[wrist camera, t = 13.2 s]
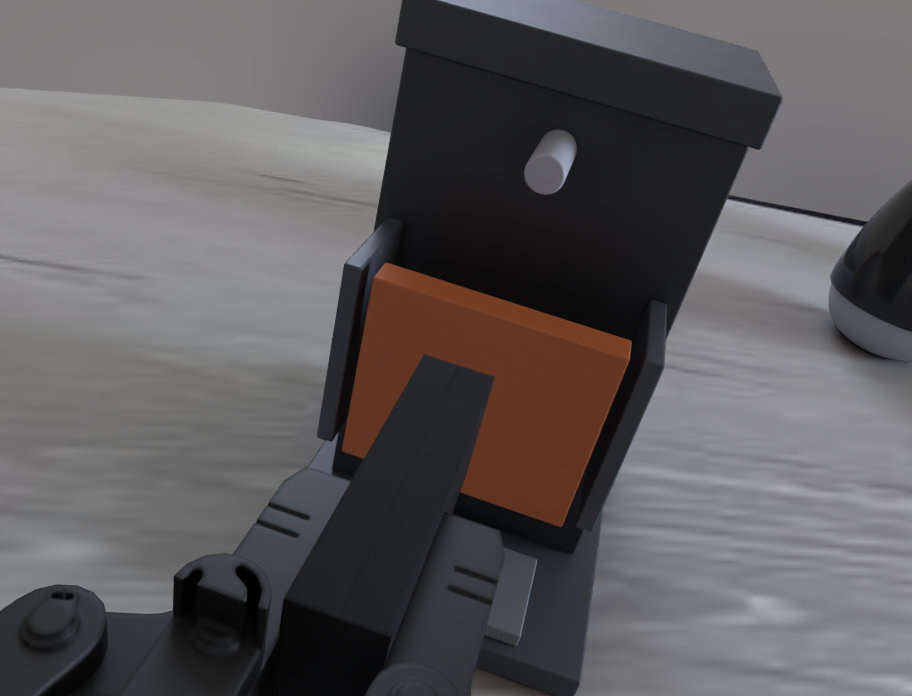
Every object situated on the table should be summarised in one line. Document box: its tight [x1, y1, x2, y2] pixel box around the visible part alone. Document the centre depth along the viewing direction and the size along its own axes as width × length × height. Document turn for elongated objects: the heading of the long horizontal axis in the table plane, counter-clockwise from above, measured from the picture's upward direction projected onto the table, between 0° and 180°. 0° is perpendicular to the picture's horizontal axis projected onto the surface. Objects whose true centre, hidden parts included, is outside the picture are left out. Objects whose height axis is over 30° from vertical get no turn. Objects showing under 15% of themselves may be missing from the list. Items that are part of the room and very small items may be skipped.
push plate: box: [342, 263, 632, 527], centre depth 25 cm, size 1×8×7 cm, turn 75°
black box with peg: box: [308, 0, 783, 696], centre depth 30 cm, size 15×13×21 cm
